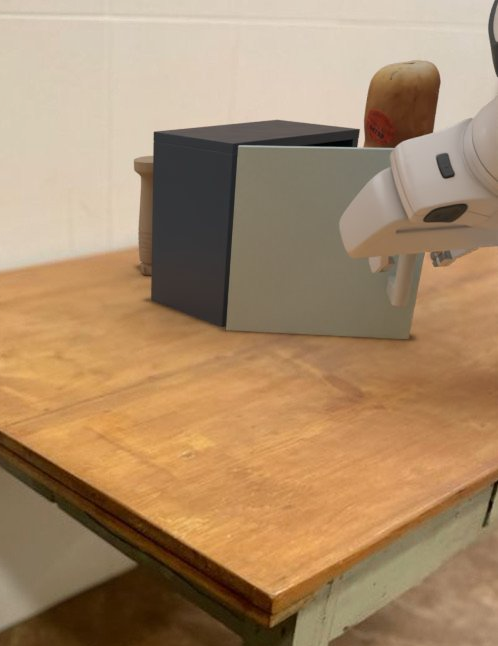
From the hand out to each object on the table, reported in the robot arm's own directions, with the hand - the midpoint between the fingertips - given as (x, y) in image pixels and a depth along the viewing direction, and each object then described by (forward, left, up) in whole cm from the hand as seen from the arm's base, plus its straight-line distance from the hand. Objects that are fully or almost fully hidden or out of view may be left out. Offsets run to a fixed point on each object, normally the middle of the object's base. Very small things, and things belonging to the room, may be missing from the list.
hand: (407, 263), depth 80 cm
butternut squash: (-14, -68, -11) cm, 71 cm away
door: (+7, -4, -10) cm, 13 cm away
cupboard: (+14, -20, -10) cm, 27 cm away
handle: (+26, -34, -11) cm, 44 cm away
